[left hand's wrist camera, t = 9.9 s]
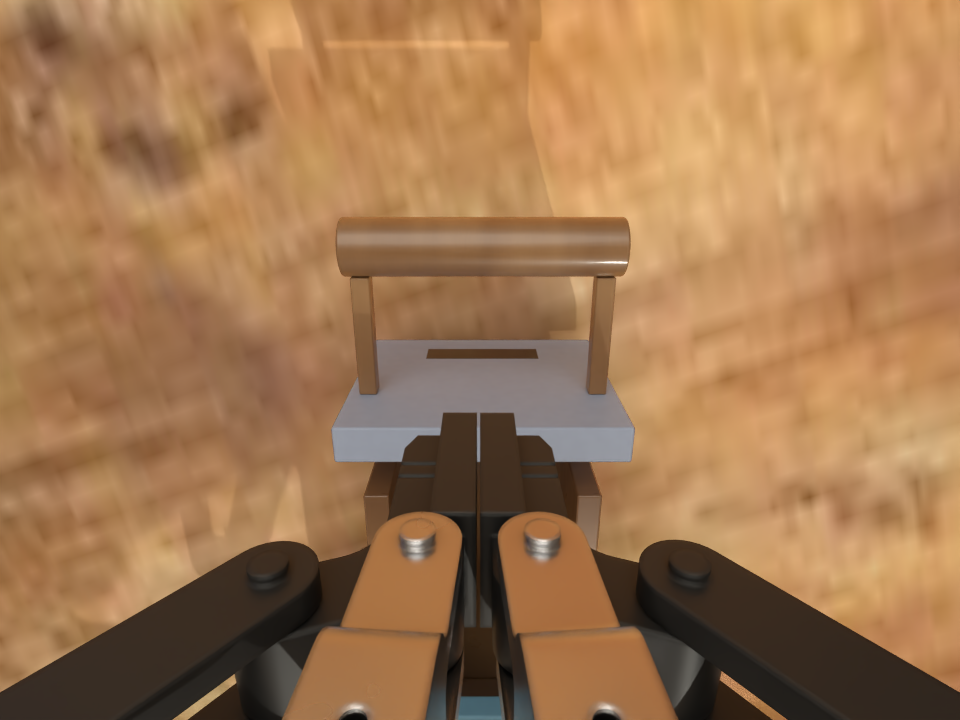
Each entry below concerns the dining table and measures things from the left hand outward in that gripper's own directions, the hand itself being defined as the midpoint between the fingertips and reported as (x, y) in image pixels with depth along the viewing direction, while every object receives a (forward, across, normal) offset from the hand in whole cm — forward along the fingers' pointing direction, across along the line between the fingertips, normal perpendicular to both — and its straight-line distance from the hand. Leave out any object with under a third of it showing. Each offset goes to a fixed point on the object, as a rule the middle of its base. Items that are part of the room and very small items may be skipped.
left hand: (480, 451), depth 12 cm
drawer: (+13, 0, -9) cm, 15 cm away
